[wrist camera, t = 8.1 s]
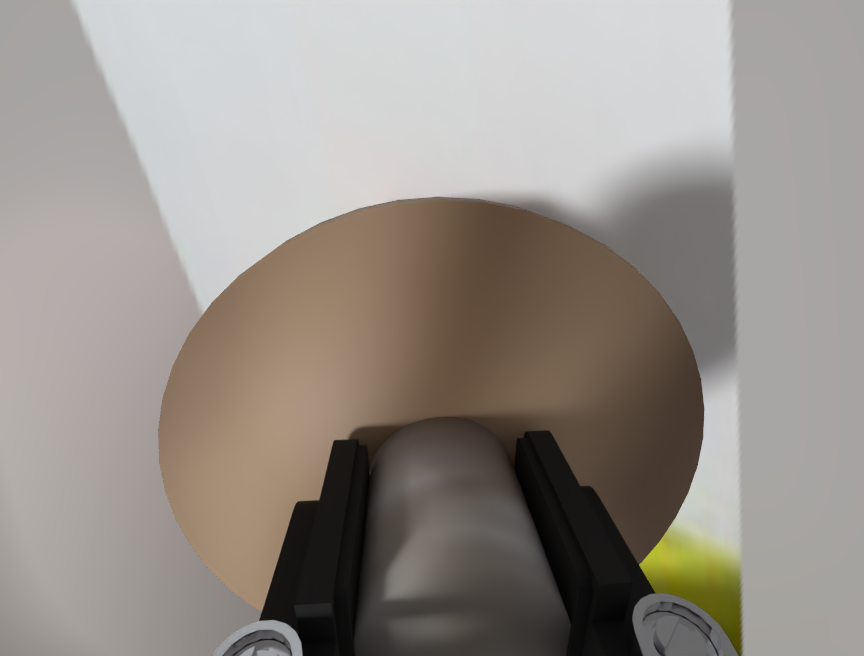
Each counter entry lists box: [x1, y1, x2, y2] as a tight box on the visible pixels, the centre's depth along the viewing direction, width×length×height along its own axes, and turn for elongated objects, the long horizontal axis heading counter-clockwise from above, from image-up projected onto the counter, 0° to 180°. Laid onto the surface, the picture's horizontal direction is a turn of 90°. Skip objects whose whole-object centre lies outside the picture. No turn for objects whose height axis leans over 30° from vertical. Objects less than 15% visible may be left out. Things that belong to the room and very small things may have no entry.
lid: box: [158, 197, 704, 656], centre depth 9 cm, size 13×13×5 cm
